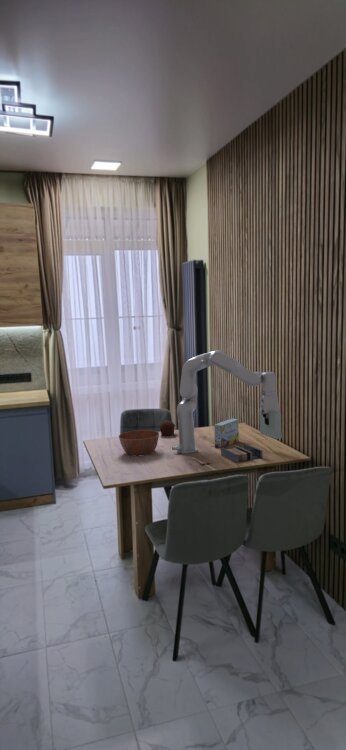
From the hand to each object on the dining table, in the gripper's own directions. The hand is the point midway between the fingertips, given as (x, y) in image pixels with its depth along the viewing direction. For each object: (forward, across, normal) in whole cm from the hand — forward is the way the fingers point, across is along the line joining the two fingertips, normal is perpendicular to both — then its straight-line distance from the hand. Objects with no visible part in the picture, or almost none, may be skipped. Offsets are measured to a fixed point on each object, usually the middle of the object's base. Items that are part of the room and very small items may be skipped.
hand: (270, 423), depth 300 cm
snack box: (+18, -12, +31) cm, 38 cm away
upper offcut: (+15, -24, 0) cm, 28 cm away
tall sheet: (+7, 0, 0) cm, 7 cm away
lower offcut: (+17, -24, 0) cm, 29 cm away
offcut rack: (+18, -20, 0) cm, 27 cm away
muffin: (+18, -34, +77) cm, 86 cm away
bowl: (+18, -66, +45) cm, 82 cm away
